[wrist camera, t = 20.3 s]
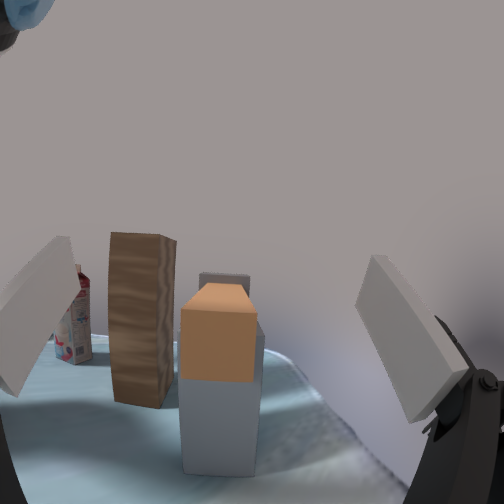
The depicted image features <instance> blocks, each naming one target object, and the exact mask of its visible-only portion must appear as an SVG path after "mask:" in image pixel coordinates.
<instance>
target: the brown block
mask: <svg viewBox="0 0 504 504" xmlns="http://www.w3.org/2000/svg"><path fill="white" fill-rule="evenodd" d="M249 289H250V276H249V275H244V274H224V273H207V272H203V273H200V274H199V292H198V293H197V294H196V295H194V296H193V298H192V299H191V300H190V301H188V302H187V303H186V305H184V306H183V307H182V308H181V332H180V362H181V379H192V380H205V381H222V382H253V377H254V361H255V344H256V328H257V312H256V310H255V308H254V306H253V305H252V303H251V301H250V299H249Z"/></svg>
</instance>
